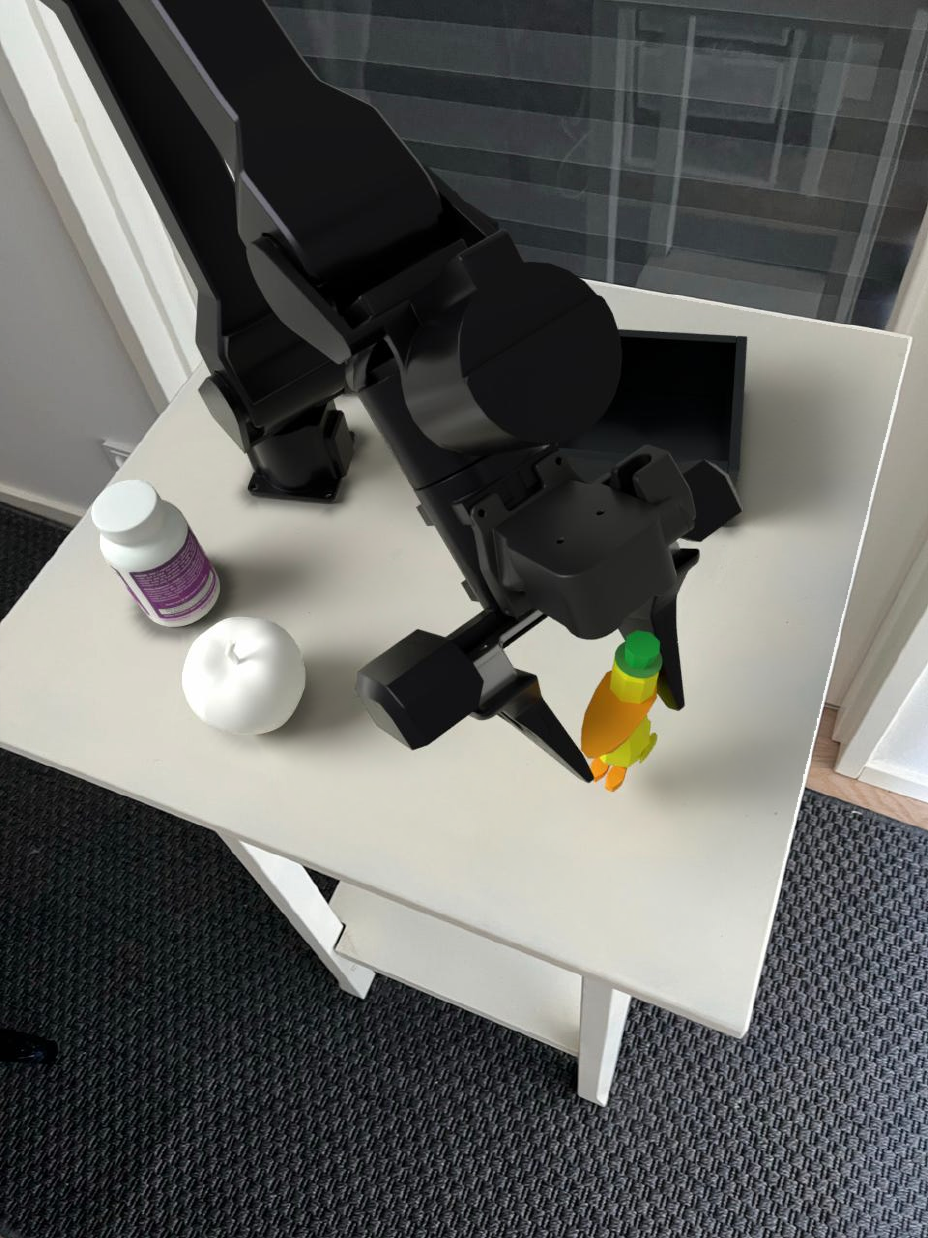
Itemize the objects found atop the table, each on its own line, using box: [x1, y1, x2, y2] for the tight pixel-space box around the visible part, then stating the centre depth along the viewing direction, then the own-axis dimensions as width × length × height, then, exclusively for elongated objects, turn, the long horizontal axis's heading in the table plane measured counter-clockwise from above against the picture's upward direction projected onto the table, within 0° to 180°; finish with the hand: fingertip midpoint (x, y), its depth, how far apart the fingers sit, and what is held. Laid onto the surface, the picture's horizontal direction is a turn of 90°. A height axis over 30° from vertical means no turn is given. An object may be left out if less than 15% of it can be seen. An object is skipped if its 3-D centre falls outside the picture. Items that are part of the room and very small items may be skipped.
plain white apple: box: [181, 616, 306, 736], centre depth 54 cm, size 7×7×8 cm
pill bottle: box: [91, 478, 221, 628], centre depth 58 cm, size 5×5×10 cm
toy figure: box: [580, 630, 662, 793], centre depth 45 cm, size 7×4×12 cm, turn 147°
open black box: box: [556, 328, 748, 528], centre depth 63 cm, size 12×12×6 cm
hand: (632, 743), depth 44 cm, fingers closed on toy figure, 5 cm apart
